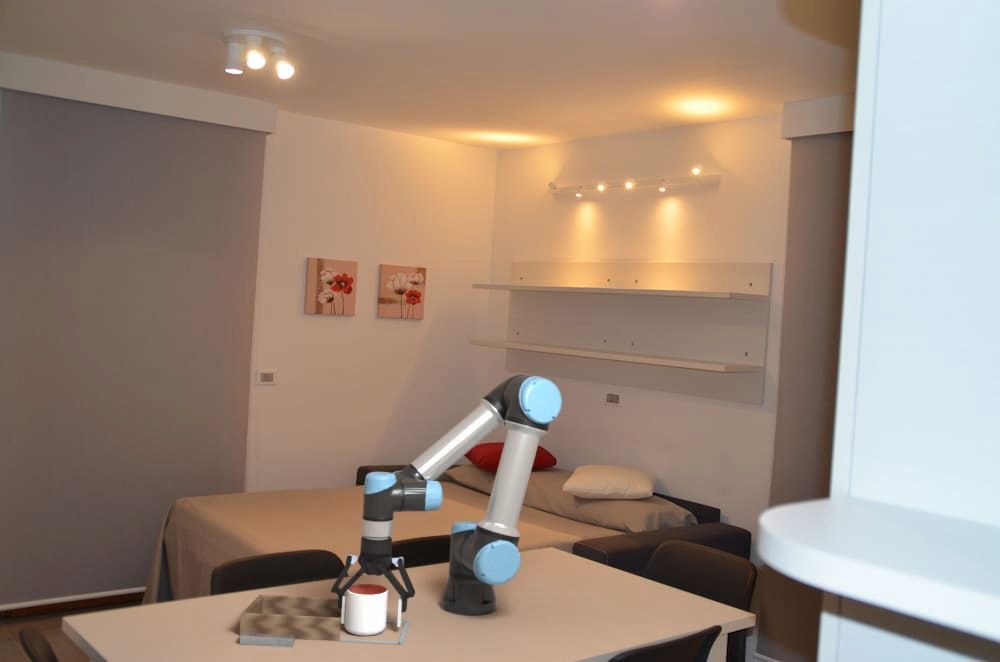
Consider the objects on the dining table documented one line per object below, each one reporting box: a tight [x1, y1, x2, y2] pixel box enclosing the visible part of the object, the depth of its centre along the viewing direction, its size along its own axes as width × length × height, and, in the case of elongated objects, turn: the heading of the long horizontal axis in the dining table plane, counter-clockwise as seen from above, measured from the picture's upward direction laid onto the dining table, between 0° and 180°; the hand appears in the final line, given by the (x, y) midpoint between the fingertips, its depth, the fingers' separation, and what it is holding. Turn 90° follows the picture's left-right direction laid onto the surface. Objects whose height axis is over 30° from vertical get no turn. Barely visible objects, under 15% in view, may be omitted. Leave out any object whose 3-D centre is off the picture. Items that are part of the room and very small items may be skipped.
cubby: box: [239, 594, 342, 642], centre depth 211 cm, size 23×16×5 cm
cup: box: [344, 583, 389, 636], centre depth 211 cm, size 10×10×10 cm
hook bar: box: [239, 630, 296, 648], centre depth 199 cm, size 12×4×2 cm, turn 90°
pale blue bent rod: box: [340, 619, 410, 646], centre depth 211 cm, size 14×17×1 cm
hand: (371, 623), depth 211 cm, fingers open, 13 cm apart
